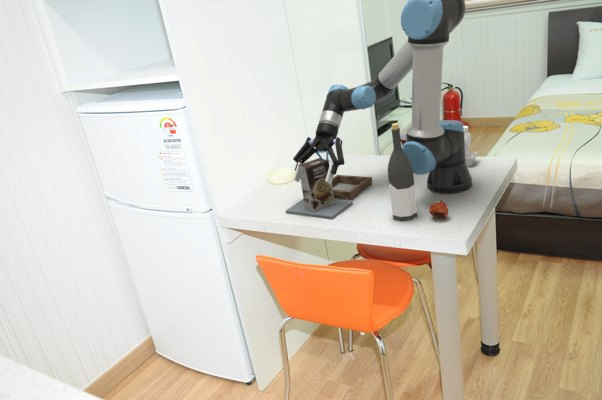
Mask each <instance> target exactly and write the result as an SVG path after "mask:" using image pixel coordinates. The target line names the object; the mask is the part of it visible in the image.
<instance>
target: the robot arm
mask: <svg viewBox="0 0 602 400" xmlns="http://www.w3.org/2000/svg"><path fill="white" fill-rule="evenodd" d="M465 13H466V3H465V0H408V1H407V2H406V3H405V5H404V6H403V8H402V11H401V15H400V25H401V28H402V31H403V32H404V34H405V35H406V36H407V41H406V42H404V43H403V45H402V46H401V48H400V49H399V50H397V52H395V53H396V54H395V55H394V56H393V57H392V58H391V59H390V60H389V61H388V63H387V64H385V66H384V67H383V68H382V70H381V71H380V72H379V73H378V74H377V75H376V77H375V78H374V79H373V80H372V81H369V82H366V83H363V84H360V85H357V86H355V87H352V88H348V87H347V86H345V85H343V84H337V83H336V84H332V85H331V86H330V87H329V90H328V91H327V94H326V98H325V100H324V105H323V106H322V110H321V114H320V118H319V119H318V124H317V127H316V129H315V136H314V138H311V137H310V136H308V137H306V140H305V142H304V144H303V145H302V146H301V147H300V148H299V150H298V151H297V152H296V154H295V155H294V156H293V158H292V159H293V161H294V162H295V163H296V165H295V167H294V176H293V178H292V179H293V180H294V181H295V182H297V183H299V182H301V180H300V174H299V168H298V165H300V164H303V163H306V162H308V161H309V159H310V158H311V157H312V156H313V155H314V154H316V153H317V152H318V151H324V153H326V151H328V153H329V154H328V156H329V157H330V159H331V163H330V162H329V170H328V174H327V177H326V180H325V181H326V182H327V183H328V184H331V183H332V180H333V177H335V176H336V175H337V173H338V170H339V169H338V168H339V166H344V165H345V158H344V157H345V156H344V152H343V140H342V139H341V138H340V137H339V136H338V134H339V129H340V127H341V123H342V119H343V117H344V113H346V112H350V111H358V110H365V109H369V108H371V107H372V108H373V106H374V105H375V104H376V103H379V102H381V101H383V100H387V99H388V98H390V97H392V96H393V94H394V93H395V91H396V87H397V86H398V85H399V84H400V83H401V82H402V81H403V79H405V78H406V76H408V74H409V73H410V72H411V71H412V78H411V81H412V85H411V87H412V88H411V89H412V90H411V125H410V126H409V127H408V128H406V131H405V133H406V143H404V144H403V145H402V144H401V148H402V149H403V151H404V152H405V154H406V155H407V157H408V159H409V161H410V163H411V166H412V170H413V175H419V176H421V175H425V174H426V175H427V174H428V175H427V179H426V187H427V189H428V191H431V192H433V193H436V194H437V193H438V194H455V193H456V194H457V193H460V192H461V193H462V192H464V191H466V190H469V189H470V188H471V187H472V186H473V177H472V175H471V173H470V170H469V167H468V166H467V165H466V161H465V142H464V129H463V126H464V124H463V122H462V121H459V120H453V119H447V120H446V119H443V120H441V99H442V84H443V83H442V80H443V58H444V47H445V46H446V45H447V44H448V43H449V42H450V34H451V33H452V32H453V31H454V30H455V29H456V28H457V27H458V26H459V24H460V23H462V21H463V19H464V17H465ZM334 145H335V151H336V154H335V152H334V149H333V146H334ZM315 148H316V149H315Z"/></svg>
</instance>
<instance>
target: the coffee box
mask: <svg viewBox="0 0 602 400" xmlns="http://www.w3.org/2000/svg"><path fill="white" fill-rule="evenodd" d="M329 167H330V160H329V161H328V160H326V158H323V159H320V158H319V157H318V158H315V159H313V160H310V161H309V160H308V161H306V162H304V163H303V164H300V165H298V168H299V174H300V184H301V190H302V197H303V198H302V199H304V204H305V208H307V209H309V210H311V211H313V212H315V211H318V210H320V209H323V208H325V207H328V206H331V205H333V204H335V200H336V199H334V193H333V190H334V187H333V186H332V183H331V184H328V183H327V182H326V181H325V180H326V177H327V174H328V170H329Z"/></svg>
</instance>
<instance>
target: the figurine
mask: <svg viewBox="0 0 602 400" xmlns="http://www.w3.org/2000/svg"><path fill="white" fill-rule="evenodd" d="M463 129H464V142H465V161H466V165H467V167H472V165H473V164H474V163H475V159H476V157H477V154H478V151H470V146H471V145H472V139H471V138H472V137H471V134H470V132H469V126H468V125H463Z"/></svg>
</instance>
